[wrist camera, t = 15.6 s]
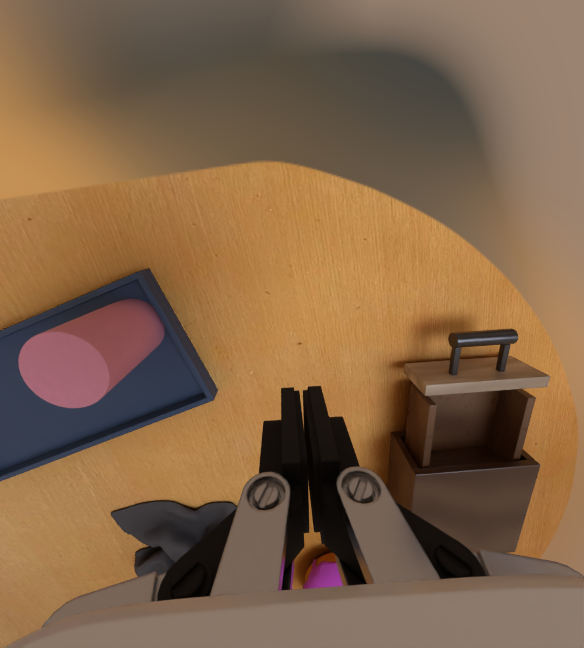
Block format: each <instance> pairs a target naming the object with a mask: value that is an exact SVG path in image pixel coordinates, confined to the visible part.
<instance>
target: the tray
mask: <svg viewBox="0 0 584 648" xmlns="http://www.w3.org/2000/svg"><path fill="white" fill-rule="evenodd" d="M128 298H133V299H139V300H142V301H145V302H147V303H148V304H150V305H152V306H153V307H154V308H155V310H156V312H157V314H158V315H159V317H160V319H161V320H162V322H163V324H164V326H165V334H164V338H163V340H162V342H161V343H160V345H159V346H158V347H157V348H155V349H154V350H153V351H152V352H151V353H150V354H149V355H148V356H147V357H146V358H145V359H144V360H142V361H141V362H140V363H139V364H138V365H137V366H136V367H135V368H134V369H133V370H132V371H131V372H129V373H128V374H127V375H126V376H125V377H124V378H123V379H122V380H121V381H120V382H119V383H118V384H116V385H115V386H114V387H113V388H112V389H111V390H110V391H109V392H108V393H107V394H106V395H105V396H103V397H102V398H101V399H100V400H99V401H98V402H96V403H94V404H92V405H90V406H86V407H82V408H65V407H60V406H57V405H54V404H51V403H49V402H47V401H45V400H43V399H42V398H40V397H39V396H38V395H36V394H35V393H34V392H33V391H32V390H31V389H30V388H29V387H28V386H27V384H26V383H25V381H24V380H23V378H22V376H21V373H20V370H19V362H18V359H19V354H20V351H21V349H22V347H23V345H24V344H25V343H26V342H27V341H28V340H29V339H30V338H32V337H33V336H35V335H38V334H40V333H42V332H45V331H47V330H50V329H52V328H54V327H57V326H59V325H62V324H64V323H66V322H69V321H71V320H74V319H76V318H78V317H81V316H83V315H86V314H88V313H91V312H93V311H95V310H98V309H100V308H103V307H105V306H107V305H110V304H112V303H115V302H117V301H120V300H123V299H128ZM217 391H218V389H217V387H216V386H215V384H214V382H213V380H212V379H211V377H210V375H209V373H208V371H207V370H206V368H205V366H204V364H203V363H202V361H201V359H200V357H199V356H198V354H197V352H196V350H195V348H194V347H193V345H192V343H191V341H190V340H189V338H188V336H187V334H186V333H185V331H184V329H183V327H182V325H181V324H180V322H179V320H178V318H177V317H176V315H175V313H174V311H173V310H172V308H171V306H170V304H169V302H168V301H167V299H166V297H165V295H164V294H163V292H162V290H161V288H160V287H159V285H158V283H157V281H156V279H155V278H154V276H153V274H152V272H151V271H150V269H145V270H141V271H138V272H136V273H134V274H131V275H129V276H127V277H124V278H122V279H120V280H117V281H115V282H113V283H110V284H108V285H106V286H103V287H101V288H99V289H96V290H94V291H92V292H89V293H87V294H85V295H82V296H80V297H78V298H75V299H73V300H71V301H68V302H66V303H64V304H61V305H59V306H57V307H55V308H52V309H50V310H48V311H45V312H43V313H41V314H38V315H36V316H34V317H31V318H29V319H27V320H24V321H22V322H20V323H17V324H15V325H13V326H10V327H8V328H6V329H3V330H1V331H0V481H2V480H5V479H8V478H10V477H13V476H16V475H18V474H21V473H24V472H26V471H29V470H31V469H34V468H37V467H39V466H42V465H45V464H47V463H50V462H52V461H55V460H58V459H60V458H63V457H66V456H68V455H71V454H73V453H76V452H79V451H81V450H84V449H87V448H89V447H92V446H94V445H97V444H100V443H102V442H105V441H108V440H110V439H113V438H115V437H118V436H121V435H123V434H126V433H129V432H131V431H134V430H137V429H139V428H142V427H144V426H147V425H150V424H152V423H155V422H158V421H160V420H163V419H165V418H168V417H171V416H173V415H176V414H179V413H181V412H184V411H186V410H189V409H192V408H194V407H197V406H200V405H202V404H205V403H207V402H210V401H213V400H214V399H215V396H216V394H217Z"/></svg>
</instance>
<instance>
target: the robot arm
mask: <svg viewBox="0 0 584 648" xmlns="http://www.w3.org/2000/svg"><path fill="white" fill-rule="evenodd" d="M303 411H304V428H303V419H302V411H301V402H300V394H299V391H294V387H293V388H281V420H274V421H264V423H263V433H262V445H261V456H260V467H259V474H257V475H255V476H254V477H252V478H251V479H250V480H249V481H248V482H247V483H246V484H245V486H244V488H243V491H242V494H241V497H240V500H239V503H238V507H237V508H236V509H235V510H234V511H233V512H232V513H231V514H229V515H228V516H227V517H226V518H225V519H224V520H223V521H222V522H220V523H219V524H218V525H217V526H216V527H215V528H214V529H212V530H211V531H210V532H209V533H208V534H207V535H206V536H205V537H203V538H202V539H201V540H200V541H199V542H198V543H197V544H196V545H194V546H193V547H192V548H191V549H190V550H189V551H188V552H186V553H185V554H184V555H183V556H182V557H181V558H180V559H179V560H177V561H176V562H175V563H174V564H173V566H172V567H171V568H170V569H169V570H168V571H167V572H166V573H163V574H160V575H157V572H156V571H155V572H152V573H149V574H146V575H143V576H140V577H137V578H133V579H130V580H127V581H124V582H121V583H118V584H115V585H112V586H109V587H106V588H103V589H100V590H97V591H93V592H90V593H87V594H84V595H81V596H78V597H76V598H74V599H72V600H70V601H68V602H66V603H65V604H64V605H63V606H61V607H60V608H59V609H58V610H56V611H55V612H54V613H53V614H52V615H51V616H50V618H49V619H48V620H47V621H46V622H45V623H44V625H43V626H42V628H41V629H38V630H36V631H34V632H32V633H30V634H28V635H26V636H24V637H22V638H20V639H18V640H16V641H14V642H13V643H11V644H9V645H7V646H6V647H4V648H584V576H583V575H582V574H580V573H579V572H577V571H575V570H574V569H572V568H570V567H569V566H566V565H564V564H561V563H558V562H554V561H548V560H542V559H537V558H531V557H526V556H520V555H514V554H509V553H503V552H497V551H492V550H486V549H480V548H478V552H472V551H470V550H469V549H468V548H467V547H466V546H464V545H463V544H462V543H460V542H459V541H457V540H456V539H454V538H452V537H451V536H449V535H448V534H446V533H445V532H443V531H441V530H440V529H438V528H437V527H435V526H433V525H432V524H430V523H429V522H427V521H425V520H424V519H422V518H421V517H419V516H417V515H416V514H414V513H413V512H411V511H409V510H408V509H406V508H405V507H403V506H401V505H400V504H398V503H397V502H395V501H394V499H393V497H392V496H391V494H390V492H389V491H388V489H387V487H386V485H385V484H384V482H383V481H382V479H381V478H380V477H379V476H378V475H377V474H376V473H375V472H373V471H372V470H369V469H367V468H364V467H360V466H359V463H358V460H357V457H356V454H355V451H354V448H353V445H352V442H351V439H350V436H349V434H348V431H347V428H346V425H345V422H344V419H343V417H329V416H328V412H327V408H326V404H325V400H324V397H323V393H322V389H321V386H312V387H308V390H303ZM308 482H309V491H310V500H311V509H312V517H313V526H314V532H320V534H321V542H322V544H324V545H325V546H326V547H327V548H328V549H329V550H331V551H332V552H333V553H334V554H335V559H336V564H337V568H338V571H339V574H340V577H341V581H342V584H343V586H335V587H322V588H309V589H295V590H292V584H293V572H294V559H295V558H296V556H297V555H298V554H299V553H300V551H301V550H302V549H303V548H304V533H309V501H308Z"/></svg>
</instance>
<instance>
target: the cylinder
mask: <svg viewBox="0 0 584 648" xmlns="http://www.w3.org/2000/svg"><path fill="white" fill-rule="evenodd" d="M164 334H165V326H164V324H163V322H162V320H161V319H160V317H159V315H158V314H157V312H156V310H155V308H154V307H153V306H152V305H150V304H148V303H147V302H145V301H142V300H139V299H133V298H128V299H123V300H120V301H117V302H115V303H112V304H110V305H107V306H105V307H103V308H100V309H98V310H95V311H93V312H91V313H88V314H86V315H83V316H81V317H78V318H76V319H74V320H71V321H69V322H66V323H64V324H62V325H59V326H57V327H54V328H52V329H50V330H47V331H45V332H42V333H40V334H38V335H35V336H33V337H32V338H30V339H29V340H28V341H27V342H26V343H25V344H24V345H23V347H22V349H21V351H20V354H19V359H18V362H19V370H20V373H21V376H22V378H23V380H24V381H25V383H26V384H27V386H28V387H29V388H30V389H31V390H32V391H33V392H34V393H35V394H36V395H38V396H39V397H40V398H42V399H43V400H45V401H47V402H49V403H51V404H54V405H57V406H60V407H65V408H82V407H86V406H90V405H92V404H94V403H96V402H98V401H99V400H100V399H101V398H102V397H103V396H105V395H106V394H107V393H108V392H109V391H110V390H111V389H112V388H113V387H114V386H115V385H116V384H118V383H119V382H120V381H121V380H122V379H123V378H124V377H125V376H126V375H127V374H128V373H129V372H131V371H132V370H133V369H134V368H135V367H136V366H137V365H138V364H139V363H140V362H141V361H142V360H144V359H145V358H146V357H147V356H148V355H149V354H150V353H151V352H152V351H153V350H154V349H155V348H157V347H158V346H159V345H160V343H161V342H162V340H163V338H164Z"/></svg>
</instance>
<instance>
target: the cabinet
mask: <svg viewBox="0 0 584 648" xmlns="http://www.w3.org/2000/svg"><path fill="white" fill-rule="evenodd" d="M405 437H406V431H403V432H391V443H390V457H389V471H388V486H387V489H388V491H389V492H390V494H391V496H392V497H393V499H394V501H395V502H397V503H398V504H400V505H401V506H403V507H405V508H406V509H408V510H409V511H411V512H413V513H414V514H416V515H417V516H419V517H421V518H422V519H424V520H425V521H427V522H429V523H430V524H432V525H433V526H435V527H437V528H438V529H440V530H441V531H443V532H445V533H446V534H448V535H449V536H451V537H452V538H454V539H456V540H457V541H459V542H460V543H462V544H463V545H464V546H466V547H467V548H468V549H469V550H470V551H472V552H478V548H480V549H486V550H492V551H497V552H503V553H507V552H515V550H516V547H517V543H518V540H519V536H520V533H521V530H522V526H523V523H524V519H525V516H526V512H527V509H528V506H529V502H530V499H531V495H532V492H533V488H534V485H535V482H536V478H537V475H538V471H539V468H540V464H539V463H538V462H537V461H535V460H534V459H533V458H532V457H531V456H530V455H529V454H528V453H527V452H526V451H524V450H523V449H522V453H521V456H520V460H519V461H508V462H496V463H484V464H472V465H459V466H447V467H435V468H422V469H419V468H418V466H417V464H416V463H415V461H414V459H413V458H412V456H411V454H410V453H409V451H408V449H407V448H406V446H405Z"/></svg>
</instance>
